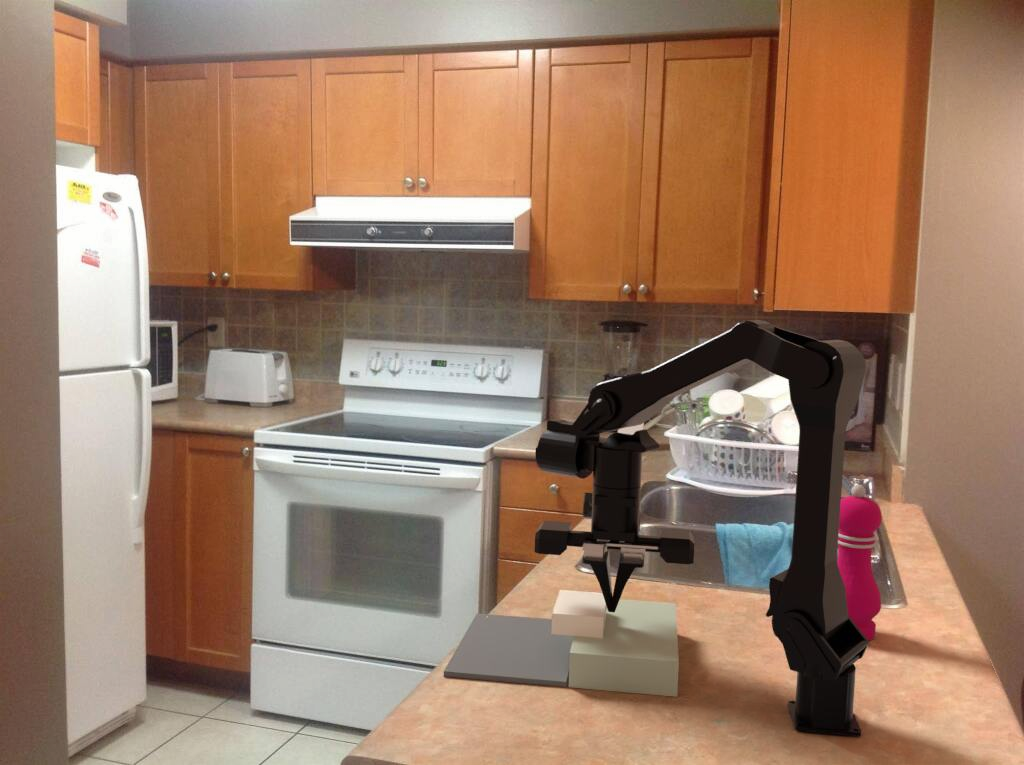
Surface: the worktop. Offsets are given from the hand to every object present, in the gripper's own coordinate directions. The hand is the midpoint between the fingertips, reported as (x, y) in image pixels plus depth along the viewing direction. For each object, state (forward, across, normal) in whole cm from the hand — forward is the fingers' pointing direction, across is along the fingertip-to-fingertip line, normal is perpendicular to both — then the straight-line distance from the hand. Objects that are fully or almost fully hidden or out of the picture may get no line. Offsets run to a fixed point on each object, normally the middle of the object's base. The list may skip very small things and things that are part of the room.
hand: (611, 611), depth 115 cm
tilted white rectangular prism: (0, +4, 0) cm, 4 cm away
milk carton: (+6, +3, -157) cm, 157 cm away
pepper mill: (+6, -31, -15) cm, 35 cm away
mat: (+6, +11, 0) cm, 13 cm away
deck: (+6, -2, 0) cm, 6 cm away
